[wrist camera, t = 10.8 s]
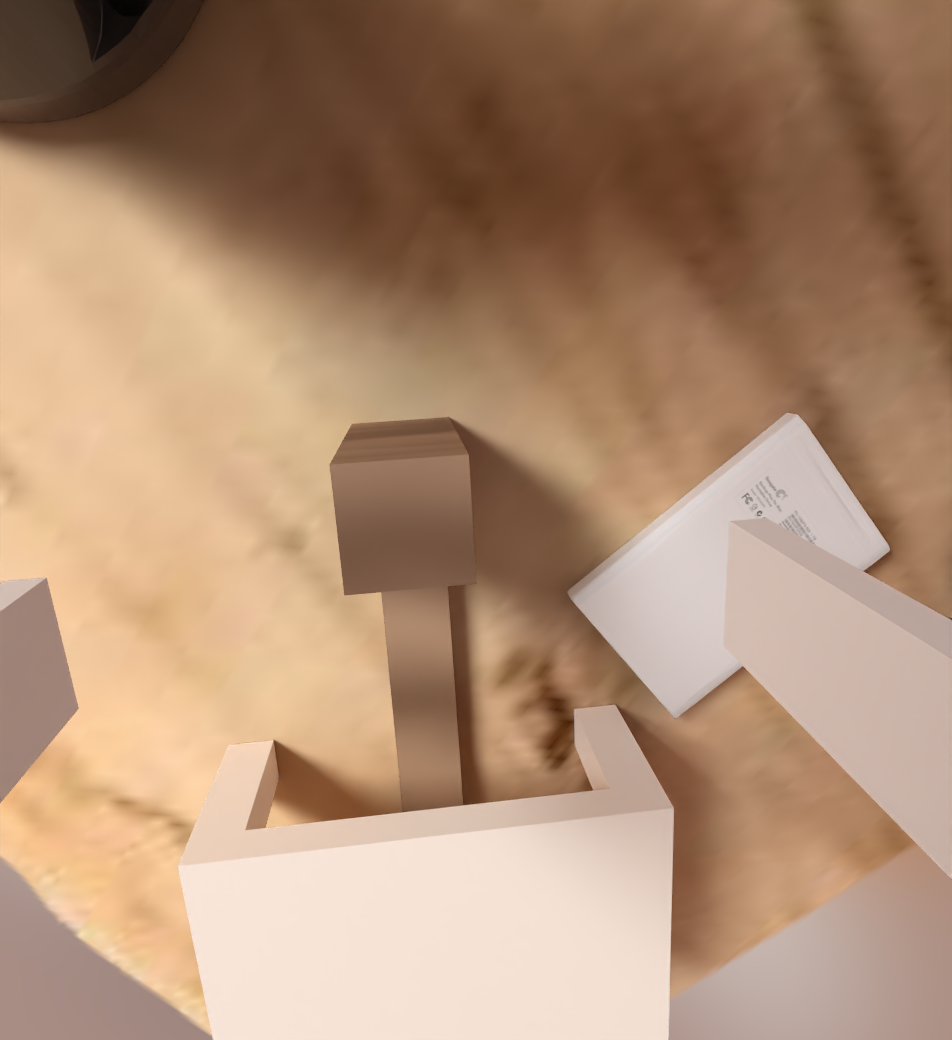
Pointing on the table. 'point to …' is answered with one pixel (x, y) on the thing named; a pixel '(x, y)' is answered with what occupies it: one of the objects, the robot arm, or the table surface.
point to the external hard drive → (717, 560)
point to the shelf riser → (438, 909)
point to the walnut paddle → (411, 580)
